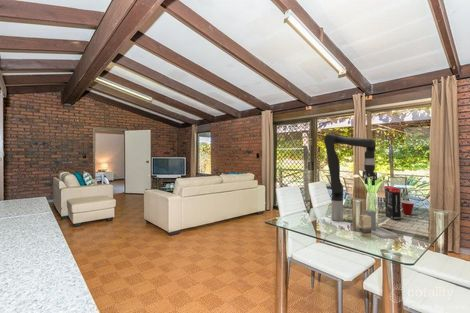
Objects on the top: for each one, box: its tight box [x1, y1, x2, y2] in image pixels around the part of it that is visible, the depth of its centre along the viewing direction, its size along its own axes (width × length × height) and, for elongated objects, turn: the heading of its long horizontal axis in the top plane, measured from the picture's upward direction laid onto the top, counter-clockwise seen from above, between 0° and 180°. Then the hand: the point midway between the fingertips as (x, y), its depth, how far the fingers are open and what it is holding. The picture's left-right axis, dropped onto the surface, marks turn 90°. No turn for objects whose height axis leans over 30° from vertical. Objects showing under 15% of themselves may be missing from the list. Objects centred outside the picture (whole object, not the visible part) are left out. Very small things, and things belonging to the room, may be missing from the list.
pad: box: [351, 231, 381, 242], centre depth 172 cm, size 16×11×1 cm
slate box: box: [364, 209, 377, 230], centre depth 187 cm, size 5×5×14 cm
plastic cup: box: [400, 199, 416, 216], centre depth 232 cm, size 11×11×12 cm
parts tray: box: [357, 224, 399, 240], centre depth 180 cm, size 26×12×3 cm, turn 7°
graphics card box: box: [384, 185, 402, 221], centre depth 221 cm, size 17×7×27 cm, turn 168°
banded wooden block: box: [359, 214, 372, 238], centre depth 172 cm, size 5×5×14 cm
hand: (369, 184), depth 197 cm, fingers open, 8 cm apart
